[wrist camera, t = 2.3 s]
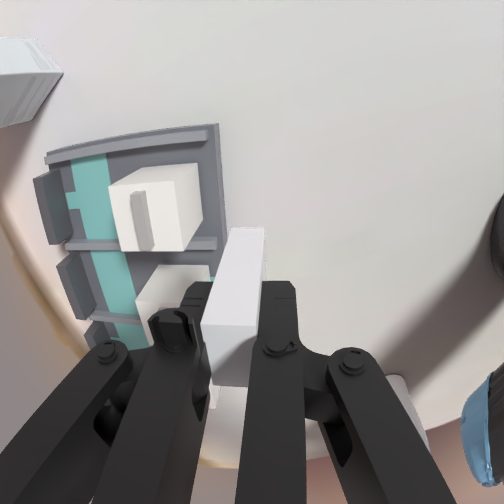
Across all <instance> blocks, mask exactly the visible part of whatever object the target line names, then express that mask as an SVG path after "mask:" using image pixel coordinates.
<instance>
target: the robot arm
mask: <svg viewBox="0 0 504 504" xmlns="http://www.w3.org/2000/svg"><path fill="white" fill-rule="evenodd" d="M491 258H492V262H493V265H494V267H495V269H496V271H497V273H498V274H499V275H500V276H501V277H502V278H503V279H504V197H503V199H502V201H501V203H500V206H499V208H498V211H497V213H496V216H495V220H494V224H493V228H492V234H491ZM147 322H148V325H149V328H150V331H151V335H152V338H153V341H154V344H153V346H151V347H147V348H142V349H135V350H128V349H127V347H126V345H125V344H124V343H122V342H121V341H118V340H106V341H103V342H101V343H98V344H97V345H96V346H94V347H93V348H92V349H91V350H90V351H89V352H88V353H87V354H86V355H85V357H84V358H83V359H82V360H81V361H80V362H79V363H78V364H77V365H76V366H75V368H73V370H72V371H71V372H70V373H69V374H68V375H67V376H66V377H65V379H64V380H63V381H62V382H61V383H60V384H59V385H58V386H57V387H56V388H55V390H54V391H53V392H52V393H51V394H50V395H49V396H48V398H47V399H46V400H45V401H44V402H43V403H42V405H41V406H40V407H39V408H38V409H37V410H36V411H35V413H34V414H33V415H32V416H31V417H30V418H29V420H28V421H27V422H26V423H25V424H24V426H23V427H22V428H21V429H20V431H19V432H18V433H17V434H16V435H15V436H14V438H13V439H12V440H11V441H10V443H9V444H8V445H7V446H6V447H5V449H4V450H3V451H2V452H1V454H0V504H89V502H90V501H91V499H92V498H93V500H92V503H91V504H190V500H191V494H192V489H193V484H194V479H195V474H196V469H197V464H198V459H199V453H200V448H201V443H202V438H203V433H204V428H205V423H206V418H207V413H208V409H209V404H210V391H209V384H210V379H211V378H212V383H213V385H216V386H233V387H248V394H247V403H246V411H245V420H244V429H243V438H242V446H241V455H240V463H239V472H238V480H237V488H236V496H235V504H306V437H305V418H307V419H311V420H315V421H318V424H319V427H320V430H321V432H322V435H323V438H324V441H325V443H326V446H327V449H328V451H329V454H330V457H331V459H332V462H333V465H334V467H335V470H336V473H337V475H338V478H339V481H340V483H341V486H342V489H343V492H344V494H345V497H346V500H347V502H348V504H457V503H456V501H455V499H454V497H453V495H452V493H451V492H450V489H449V488H448V486H447V484H446V482H445V480H444V478H443V477H442V474H441V472H440V471H439V469H438V467H437V465H436V463H435V461H434V460H433V458H432V456H431V454H430V452H429V450H428V449H427V447H426V445H425V443H424V441H423V440H422V438H421V436H420V434H419V433H418V431H417V429H416V427H415V426H414V424H413V422H412V420H411V419H410V417H409V415H408V413H407V412H406V410H405V408H404V407H403V405H402V403H401V401H400V400H399V398H398V396H397V395H396V393H395V391H394V390H393V388H392V386H391V385H390V383H389V381H388V380H387V378H386V377H385V375H384V373H383V372H382V370H381V368H380V367H379V365H378V363H377V362H376V360H375V359H374V358H373V357H372V356H371V354H370V353H368V352H366V351H364V350H362V349H359V348H354V347H349V348H342V349H340V350H337V351H335V352H334V353H333V354H332V355H331V356H327V355H322V354H318V353H315V352H312V351H311V350H309V349H307V348H306V347H305V346H304V345H303V344H302V343H301V341H300V339H299V333H298V318H297V305H296V291H295V288H294V286H293V285H292V284H291V283H290V281H266V246H265V227H239V228H231V231H230V234H229V237H228V240H227V243H226V246H225V249H224V252H223V255H222V258H221V261H220V264H219V267H218V270H217V273H216V276H215V280H214V282H210V281H195V282H194V283H193V284H192V285H191V286H189V287H188V288H187V290H186V292H185V294H184V296H183V299H182V301H181V303H180V307H179V308H166V309H163V310H160V311H158V312H156V313H154V314H153V315H151V317H150V318H149V319H148V320H147ZM108 399H109V400H108ZM461 436H462V444H463V449H464V453H465V456H466V460H467V463H468V465H469V468H470V470H471V472H472V474H473V476H474V477H475V479H476V480H477V481H478V482H479V483H482V485H483V486H484V487H491V486H497V485H498V484H499V483H500V482H503V484H504V362H503V363H502V364H501V366H500V367H499V368H497V369H496V370H495V371H493V372H492V373H491V374H490V375H488V377H487V380H486V381H485V382H484V383H483V384H482V385H481V386H480V387H479V388H478V389H477V390H475V391H474V392H473V393H472V394H471V395H470V396H469V398H468V399H467V401H466V403H465V405H464V407H463V411H462V416H461ZM93 496H94V497H93Z"/></svg>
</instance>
